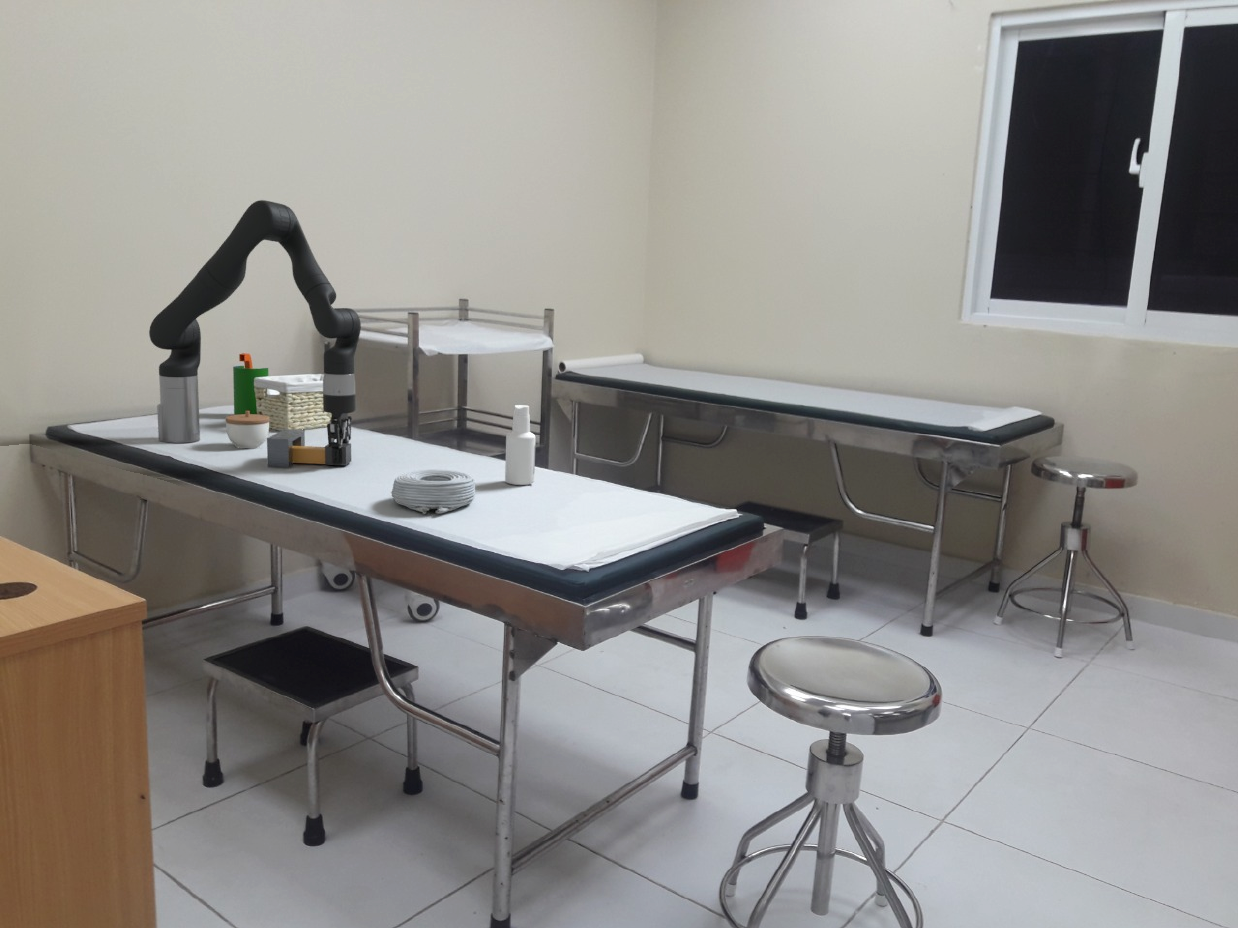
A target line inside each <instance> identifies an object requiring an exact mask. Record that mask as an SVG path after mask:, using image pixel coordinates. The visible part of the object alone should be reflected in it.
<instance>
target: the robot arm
mask: <svg viewBox="0 0 1238 928" xmlns="http://www.w3.org/2000/svg"><path fill="white" fill-rule="evenodd" d="M263 241H269V242H276V243H278V244H280V246H281V247H282V248H283V249H284V250H285V251H286V253H287V255H288V256H289V258H290V260H291V262H290V263H291V269H292V271H291V272H292V277H293V280H294V283H295V286H296V287H297V289H298V290H299V292H300V293H301V295H302V296H303V298H304V299H305V301H306V302H307V304H308V307H309V312H310V314H311V317H312V321H313V323H314V328H315V329H316V331H317V332H318V333H319V335H322V336H323V337H324V338H326V339H336V340H335V343H334V345H333V346H332V347H329V348H328V349H325V351H324V353H323V374H324V378H323V410H324V411H325V412H327V413H331V414H332V416H331V420H330V422H329V424H327V427H326V429H327V431H326V432H327V441H328V443H327V445H329V447H331V448H332V463H333V464H341V463H342V443H350V441H351V439H352V420H353V418H352V416H349V414H352V413H354V412H355V411H356V408H357V407H356V402H357V401H356V399H357V398H356V379H355V353H356V351H357V347H358V343H359V340H360V334H361V330H362V329H361V328H362V326H361V325H362V323H361V318H360V316H359V315H358V313H357V311H355V310H354V309H352V308H347V307H340V308H339V307H338V308H337V307H336V308H335V307H333V306H332V305H333V304H334V303H335V302H336V299H337V292H336V290H335V287H333V285H332V284H331V282H330V281H329V279H328V277H327V276H326V275H325V273H324V272H323V270H322V268H321V267H320V265H319V263H318V261H317V260H316V257H315V255H314V254H313V252H312V249H311V246H310V245H309V242H308V239H307V238H306V235H305V233H304V231H303V227H302V226H301V224H300V221H299V219H298V217H297V215H296V214H295V212H294V210H293V209H292V208H291V207H289V206H287V205H285V204H282V203H278V202H275V201H269V200H264V199H261V200H257V201H254V202H253V203H251V204H250V205H249V206H248V208H246V210H245V211H244V212H243V214H242V215H241V217H240V218H239V220H238V221H237V223H236V225H234V228H233V229H232V231H231V232H230V234H229V235H228V236H227V238H226V239H225V240H224V241H223V242H222V244H221V245H220V246H219V247H218V249H217V250H216V251H215V252H214V253H213V255H212V256H211V257H210V258H209V259H208V260H207V261H206V262H205V264H204V265H203V266H202V267H201V268H200V269H199V270H198V272H197V274H196V275H195V276H194V277H193V278H192V280H191V281H190V282H189V283H188V284H186V287H184V289H182V291H181V292H180V293H179V294H178V296H176V298H174V299H173V300H172V301H171V302H170V303H169V304H168V305H167V306H166V307H165V308H164V309H163V310H162V311H160V312H159V313H158V314H156V316H155V317H154V318H153V320H152V321H151V323H150V327H149V331H148V334H149V335H148V336H149V338H150V341H151V343H152V344H153V345H154V346H155V347H156V348H158V349H162V350H170V351H171V352H170V355H169V357H168V358H167V359H166V360H164V361H163V362H161V363H160V364H159V366H158V375H159V376H158V379H159V381H158V382H159V396H160V397H159V401H160V403H158V404H157V407H156V409H157V429H158V431H157V433H158V441H159V442H163V443H164V442H165V443H175V444H176V443H177V444H178V443H179V444H180V443H181V444H182V443H193V442H199V441H200V440H201V435H200V434H201V430H200V429H201V428H200V426H201V425H200V404H199V403H200V401H199V399H200V398H199V379H198V378H199V374H198V370H199V367H200V364H201V355H202V354H201V351H202V342H201V341H202V335H201V328H200V324H199V322H198V320H197V319H198V318H199V317H200V316H202V315H204V314H205V313H207V312H209V311H210V310H212V309H215V308H216V307H217V306H219V305H221V304H222V303H224V302H225V301H226V300H227V299H229V298H230V297H231V296H232V295H233V294H234V293H235V292H236V291H237V289H238V288H239V287H240V286H241V285H242V283H243V281H244V279H245V277H246V271H247V262H248V261H247V260H248V257H249V255H250V254H251V253H252V252H253V250H254V249H255V248H256V247H257V246H258V245H259V244H260V243H261V242H263ZM335 440H336V441H335Z"/></svg>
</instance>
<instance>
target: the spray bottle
mask: <svg viewBox="0 0 1238 928" xmlns="http://www.w3.org/2000/svg"><path fill="white" fill-rule="evenodd" d="M530 419H531V416H530V406H529V405H526V404H515V405H514V412H513V414H512V431H510V432H508V433H507V434H506V435H505V436H506V438H505V468H504V469H505V471H504V473H505V474H504V475H505V476H504V481H505V483H507V484H509V485H515V486H525V485H526V486H527V485H531V484H533V483H534V482H535V471H536V469H535V462H536V435H535V434H534V433H533V432H531V424H530V423H531V422H530Z"/></svg>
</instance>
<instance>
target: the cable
mask: <svg viewBox="0 0 1238 928" xmlns="http://www.w3.org/2000/svg"><path fill="white" fill-rule="evenodd" d="M390 493H391V497H392V498H393V499H394V501H395V502H396V504H399V505H401V506H404V507H407V508H408V509H411V510H414V511H417V512H420V513H422V514H424V515H425V514H427V512H428V511H430V510H435V514H445V513H448V512H451V511H454V510H457V509H459V508H460V507H461V508H462V507H464V506H466V505H469V504H471V503H472V502H473V501H474V499H475V498H476V481H475V479H474V478H473V476H471V475H470V474H467V473H465V472H461V471H456V470H448V469H420V470H419V469H418V470H413V471H408V472H405V473H404V472H403V473H402V474H400V475H398V476H396V477H395V479H394V480H393V484H392V490H391V491H390Z"/></svg>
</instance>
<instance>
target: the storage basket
mask: <svg viewBox="0 0 1238 928" xmlns="http://www.w3.org/2000/svg"><path fill="white" fill-rule="evenodd" d="M323 378H324V373H323V374H322V373H317V374H316V373H315V374H314V373H313V374H312V373H308V374H307V373H306V374H305V373H304V374H288V375H270V376H269V375H268V376H267V377H256V378H254V387H255V388H254V390H255V393H256V394H255V397H256V406H257V415H265V416H268V417H269V418H270V421H269V428H272V429H271V430H273V429H276V430H275V431H279V430H281V431H282V430H284V429H288V430H302V429H309V430H313V429H312V428H316V429H319V428H318V427H324V428H327V424H329V422H330V420H331V416H332V414H331V413H327V412H325V411H324V410H323Z"/></svg>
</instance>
